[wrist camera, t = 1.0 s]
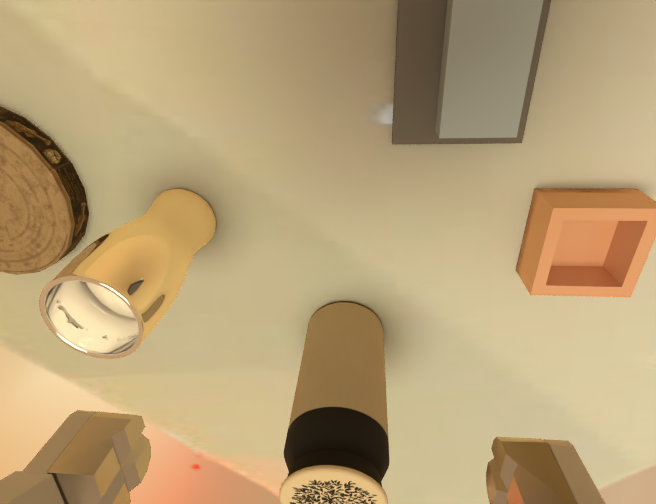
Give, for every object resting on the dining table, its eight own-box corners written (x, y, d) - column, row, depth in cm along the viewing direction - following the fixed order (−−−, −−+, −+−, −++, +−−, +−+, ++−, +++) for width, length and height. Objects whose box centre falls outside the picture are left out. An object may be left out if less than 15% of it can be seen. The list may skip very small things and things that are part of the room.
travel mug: (309, 297, 42) (273, 462, 26) (387, 303, 41) (398, 476, 26) (307, 354, 46) (276, 528, 30) (379, 361, 45) (384, 540, 30)
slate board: (451, -41, 26) (457, -46, 25) (539, -46, 26) (553, -51, 24) (434, 131, 32) (439, 138, 30) (507, 130, 31) (516, 137, 29)
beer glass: (211, 181, 36) (124, 271, 23) (228, 249, 40) (160, 361, 27) (138, 185, 37) (15, 275, 24) (160, 252, 40) (63, 361, 28)
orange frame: (534, 188, 34) (553, 208, 31) (636, 189, 33) (667, 208, 30) (515, 269, 38) (530, 294, 35) (606, 271, 37) (630, 297, 34)
